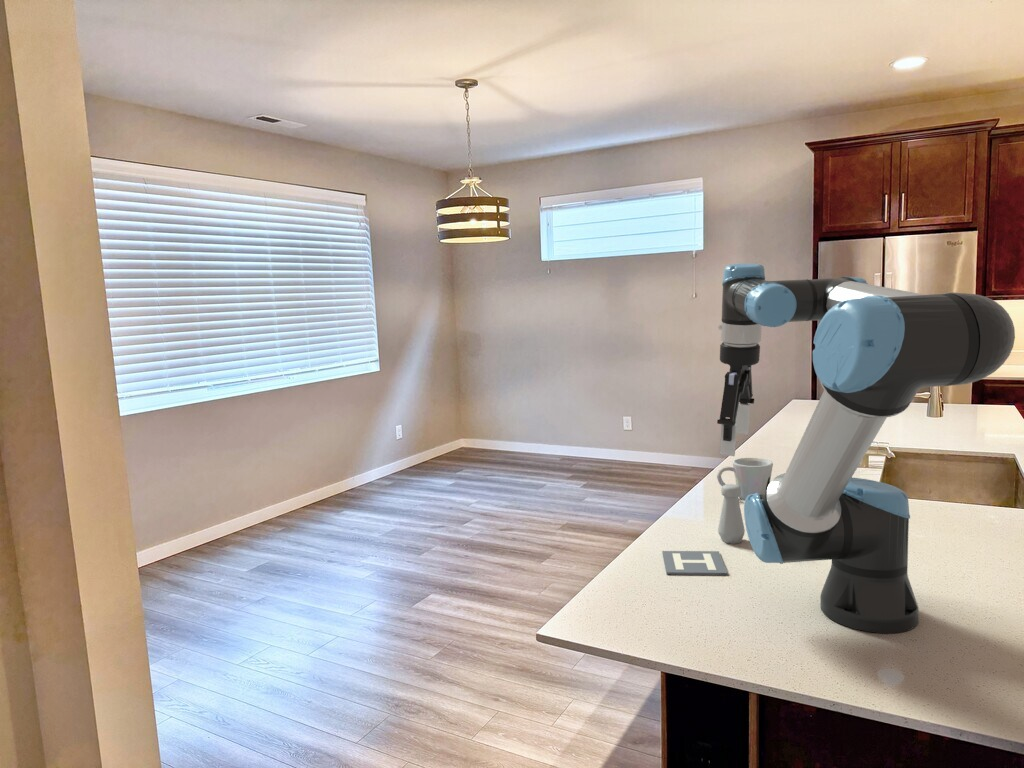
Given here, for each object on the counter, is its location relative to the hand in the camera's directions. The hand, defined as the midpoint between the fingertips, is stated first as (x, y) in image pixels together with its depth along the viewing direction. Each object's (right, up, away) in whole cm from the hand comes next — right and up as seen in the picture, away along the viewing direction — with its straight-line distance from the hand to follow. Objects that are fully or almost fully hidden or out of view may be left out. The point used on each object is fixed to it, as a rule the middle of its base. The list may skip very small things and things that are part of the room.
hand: (734, 443), depth 143 cm
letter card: (-8, -26, +3) cm, 27 cm away
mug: (+18, -19, +47) cm, 54 cm away
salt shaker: (+4, -24, +15) cm, 28 cm away
